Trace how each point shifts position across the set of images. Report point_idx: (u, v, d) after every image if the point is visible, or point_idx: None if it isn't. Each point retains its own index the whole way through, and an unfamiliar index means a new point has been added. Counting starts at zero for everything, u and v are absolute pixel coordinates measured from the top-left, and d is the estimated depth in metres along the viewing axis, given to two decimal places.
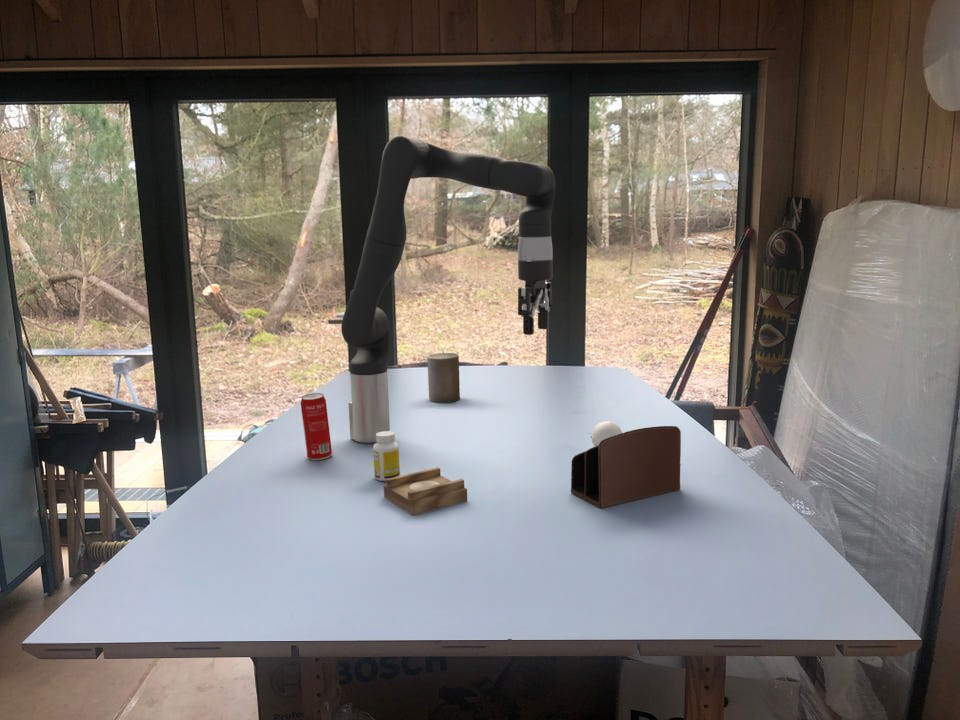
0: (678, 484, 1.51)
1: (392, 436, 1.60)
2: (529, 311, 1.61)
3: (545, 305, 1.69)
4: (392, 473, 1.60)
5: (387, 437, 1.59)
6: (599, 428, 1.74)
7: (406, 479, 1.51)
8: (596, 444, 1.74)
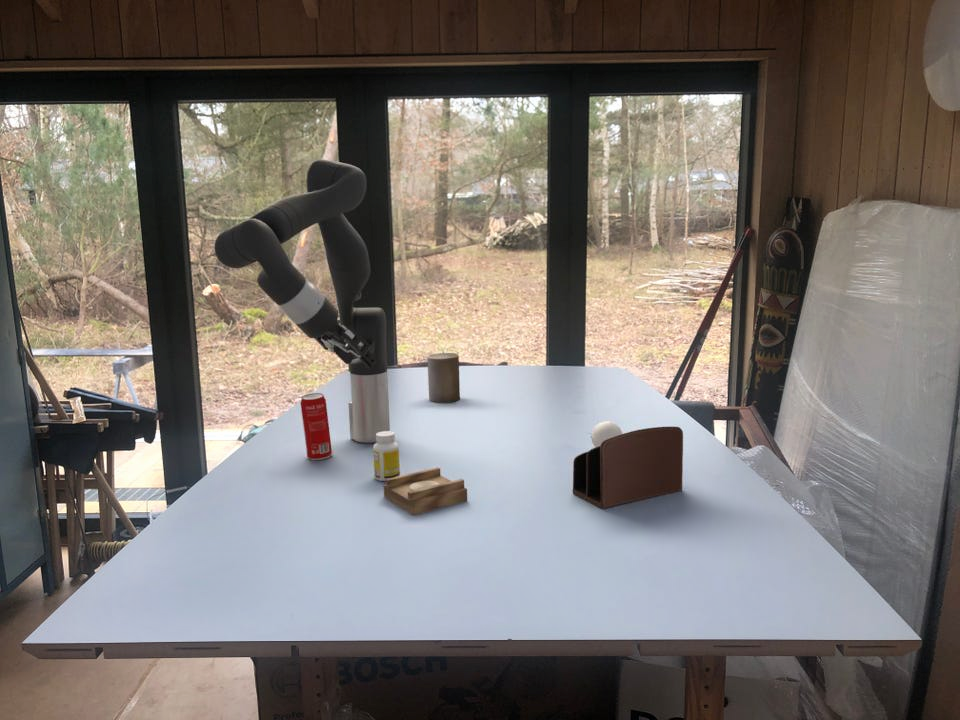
0: (680, 485, 1.51)
1: (392, 436, 1.60)
2: (323, 347, 1.51)
3: None
4: (392, 473, 1.60)
5: (387, 437, 1.59)
6: (599, 428, 1.74)
7: (406, 479, 1.51)
8: (596, 444, 1.74)
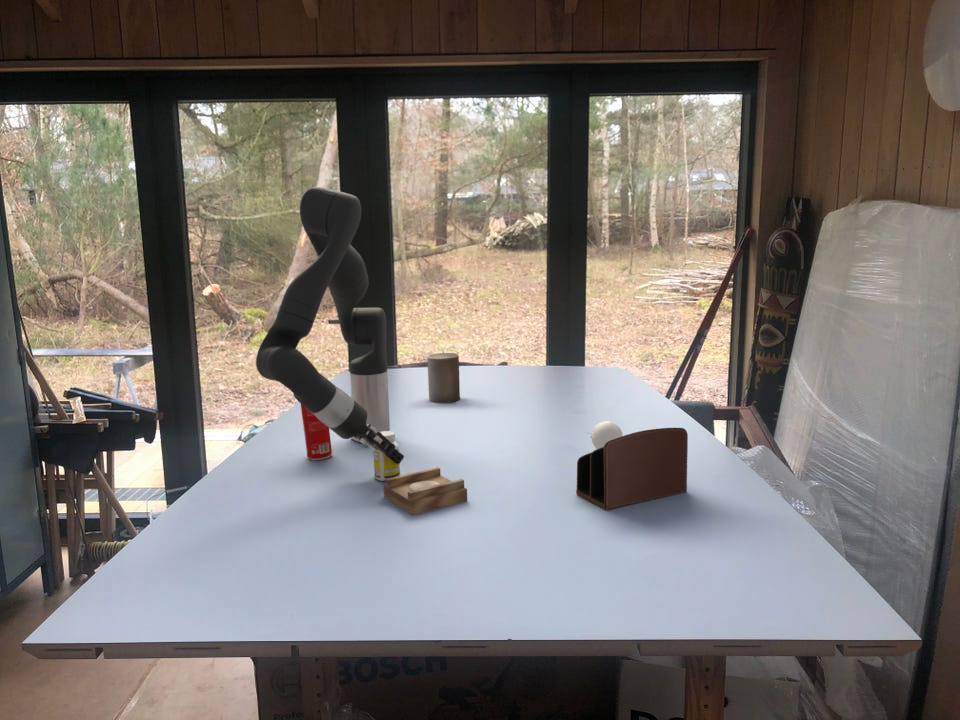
0: (685, 486, 1.50)
1: (392, 436, 1.60)
2: None
3: None
4: (392, 472, 1.60)
5: (387, 437, 1.59)
6: (599, 428, 1.74)
7: (406, 479, 1.51)
8: (596, 444, 1.74)
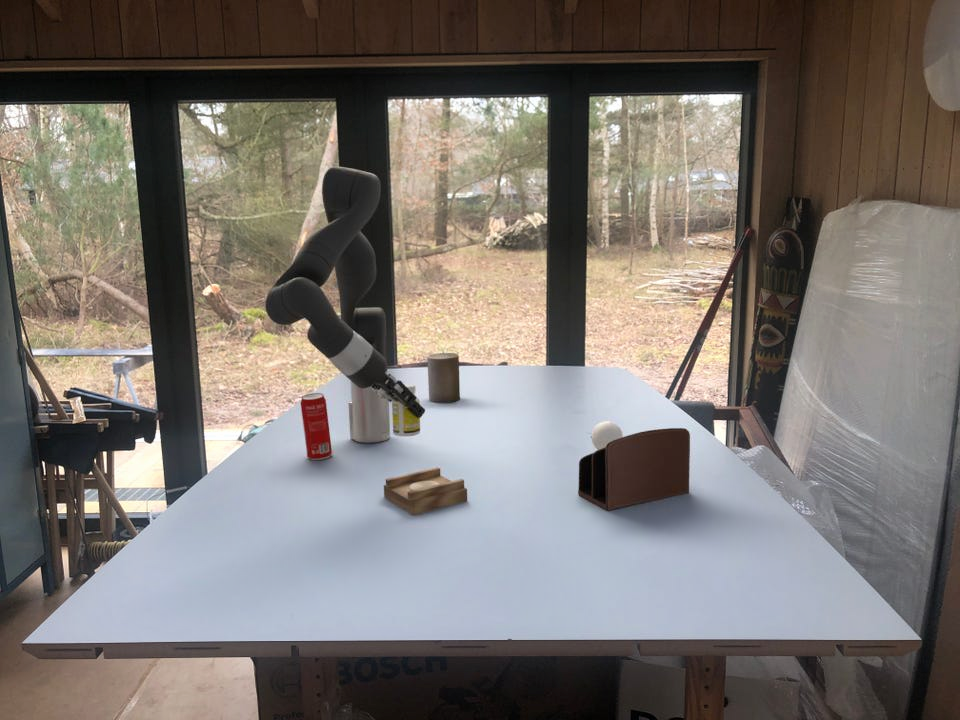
0: (687, 487, 1.49)
1: (413, 388, 1.49)
2: (381, 396, 1.53)
3: None
4: (412, 427, 1.49)
5: (408, 388, 1.48)
6: (599, 428, 1.74)
7: (406, 479, 1.51)
8: (596, 444, 1.74)
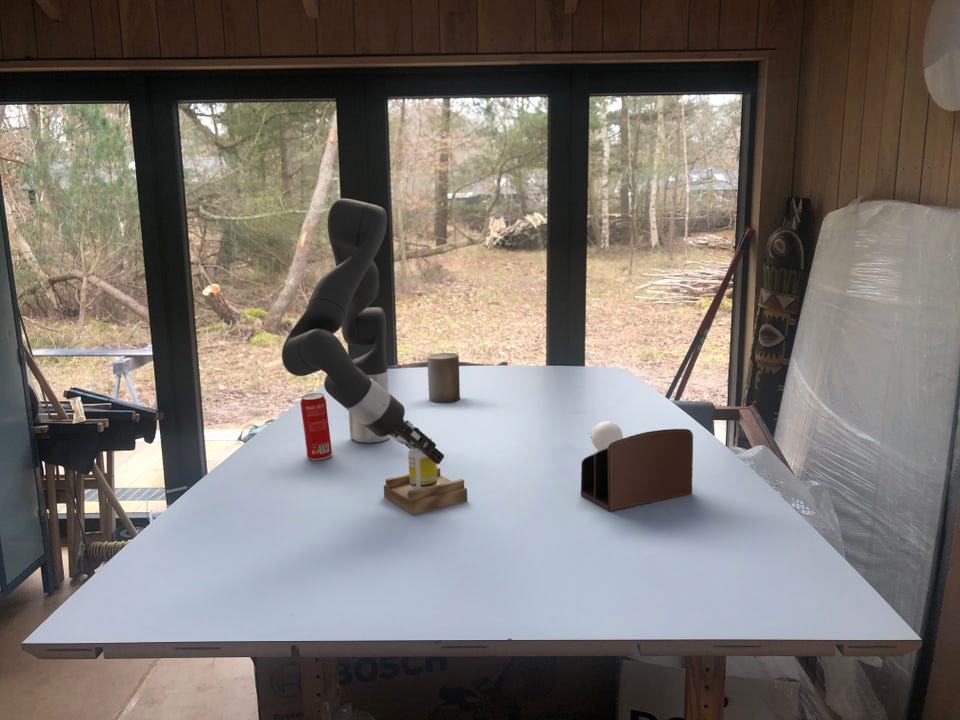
0: (690, 488, 1.49)
1: None
2: None
3: None
4: (429, 481, 1.47)
5: None
6: (599, 428, 1.74)
7: (406, 479, 1.51)
8: (596, 444, 1.74)
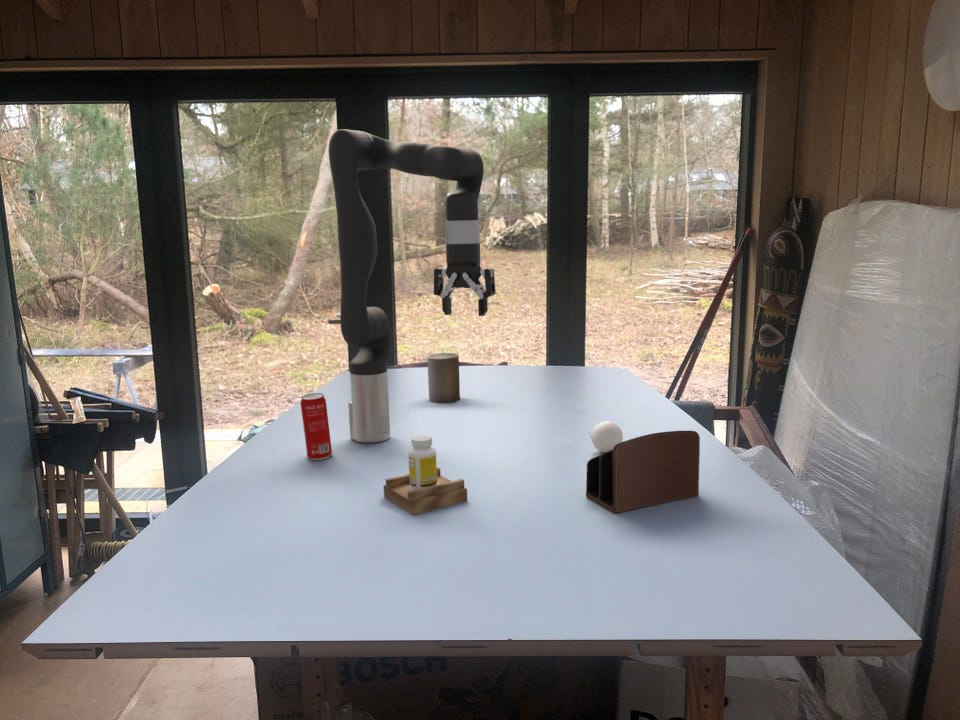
0: (697, 490, 1.48)
1: (429, 441, 1.47)
2: (435, 291, 1.70)
3: None
4: (429, 481, 1.47)
5: (424, 442, 1.46)
6: (599, 428, 1.74)
7: (406, 479, 1.51)
8: (596, 444, 1.74)
